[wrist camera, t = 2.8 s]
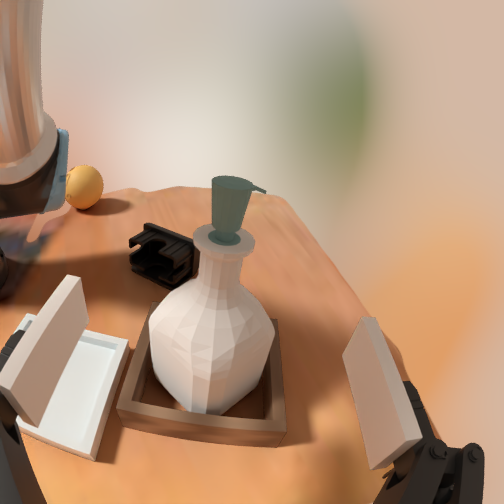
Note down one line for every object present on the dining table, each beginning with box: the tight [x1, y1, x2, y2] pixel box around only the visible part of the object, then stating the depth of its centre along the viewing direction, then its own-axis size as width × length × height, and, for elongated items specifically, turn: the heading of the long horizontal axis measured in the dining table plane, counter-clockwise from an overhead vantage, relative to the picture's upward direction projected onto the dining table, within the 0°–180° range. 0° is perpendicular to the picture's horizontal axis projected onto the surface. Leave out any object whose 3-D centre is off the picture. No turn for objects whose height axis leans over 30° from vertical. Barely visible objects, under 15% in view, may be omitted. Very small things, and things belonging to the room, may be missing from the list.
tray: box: [13, 313, 130, 461], centre depth 25 cm, size 15×15×2 cm
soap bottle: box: [149, 176, 275, 416], centre depth 26 cm, size 10×10×23 cm
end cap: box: [129, 223, 201, 291], centre depth 47 cm, size 10×7×7 cm
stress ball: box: [65, 165, 103, 210], centre depth 60 cm, size 10×10×10 cm
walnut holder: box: [116, 301, 287, 448], centre depth 31 cm, size 15×15×4 cm
